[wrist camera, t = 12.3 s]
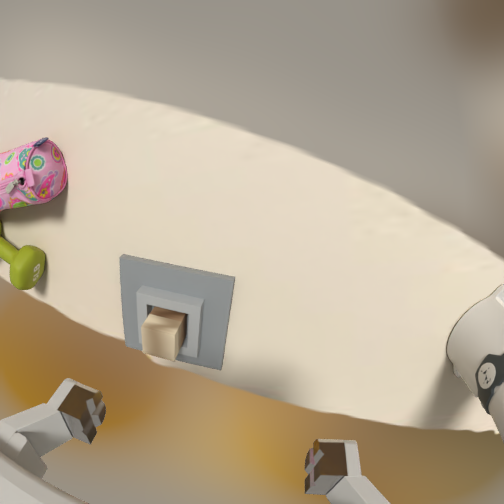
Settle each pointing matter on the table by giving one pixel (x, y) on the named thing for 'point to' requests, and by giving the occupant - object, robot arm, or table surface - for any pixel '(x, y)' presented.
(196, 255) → the table surface
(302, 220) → the table surface
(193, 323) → the socket board
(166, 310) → the stack block
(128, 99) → the table surface
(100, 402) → the robot arm
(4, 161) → the pencil case
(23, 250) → the dumbbell
